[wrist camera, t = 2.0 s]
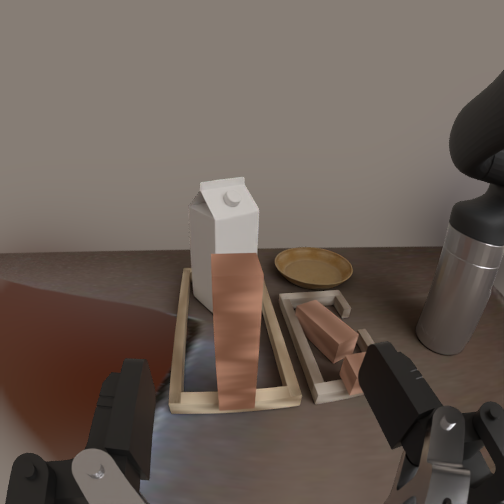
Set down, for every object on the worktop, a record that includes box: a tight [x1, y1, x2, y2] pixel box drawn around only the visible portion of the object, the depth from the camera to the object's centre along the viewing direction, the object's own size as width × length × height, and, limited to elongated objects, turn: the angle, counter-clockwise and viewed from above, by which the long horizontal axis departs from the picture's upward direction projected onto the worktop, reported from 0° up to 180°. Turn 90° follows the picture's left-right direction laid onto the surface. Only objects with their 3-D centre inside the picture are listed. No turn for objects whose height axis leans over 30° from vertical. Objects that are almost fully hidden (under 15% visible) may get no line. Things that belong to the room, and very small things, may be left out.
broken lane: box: [279, 290, 375, 404], centre depth 36 cm, size 10×21×5 cm, turn 7°
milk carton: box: [189, 177, 259, 313], centre depth 43 cm, size 7×7×19 cm
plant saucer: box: [275, 247, 353, 290], centre depth 55 cm, size 15×15×3 cm
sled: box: [169, 253, 302, 414], centre depth 36 cm, size 13×30×17 cm, turn 8°
